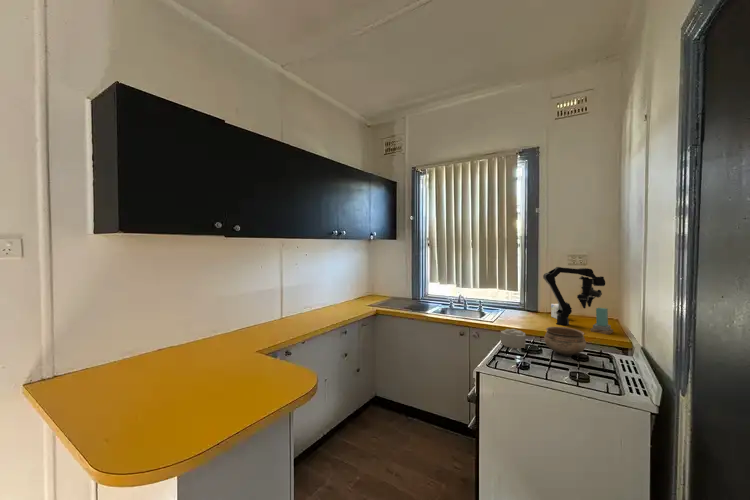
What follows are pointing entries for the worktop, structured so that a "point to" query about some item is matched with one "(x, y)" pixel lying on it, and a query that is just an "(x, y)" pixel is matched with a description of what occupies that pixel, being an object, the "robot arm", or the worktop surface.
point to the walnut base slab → (602, 331)
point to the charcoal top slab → (602, 327)
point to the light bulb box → (554, 310)
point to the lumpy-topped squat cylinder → (513, 338)
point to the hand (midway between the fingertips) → (586, 307)
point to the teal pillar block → (602, 316)
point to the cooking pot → (565, 340)
